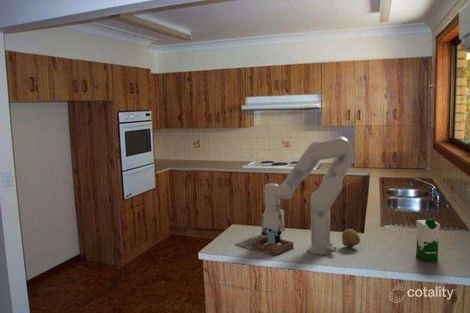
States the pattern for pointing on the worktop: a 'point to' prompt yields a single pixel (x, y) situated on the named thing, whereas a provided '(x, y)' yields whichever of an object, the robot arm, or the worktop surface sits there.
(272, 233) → the teal block
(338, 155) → the robot arm
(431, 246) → the milk carton
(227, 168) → the worktop surface
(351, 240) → the natural sponge
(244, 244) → the slate pad
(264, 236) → the tea box
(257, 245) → the crate
